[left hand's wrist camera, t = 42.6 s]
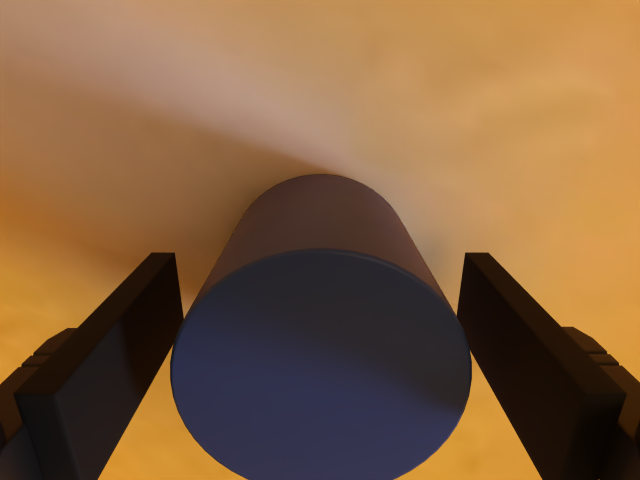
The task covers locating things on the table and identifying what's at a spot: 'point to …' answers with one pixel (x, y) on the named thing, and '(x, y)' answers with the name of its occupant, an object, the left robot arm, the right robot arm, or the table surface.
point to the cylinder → (320, 342)
